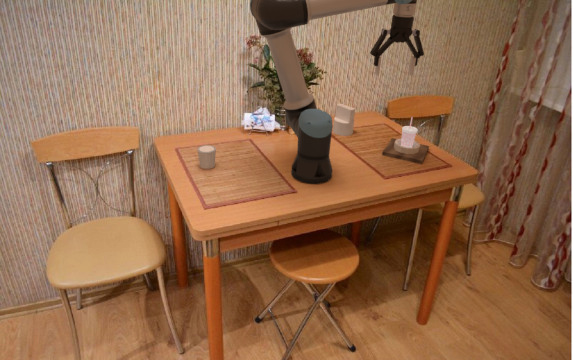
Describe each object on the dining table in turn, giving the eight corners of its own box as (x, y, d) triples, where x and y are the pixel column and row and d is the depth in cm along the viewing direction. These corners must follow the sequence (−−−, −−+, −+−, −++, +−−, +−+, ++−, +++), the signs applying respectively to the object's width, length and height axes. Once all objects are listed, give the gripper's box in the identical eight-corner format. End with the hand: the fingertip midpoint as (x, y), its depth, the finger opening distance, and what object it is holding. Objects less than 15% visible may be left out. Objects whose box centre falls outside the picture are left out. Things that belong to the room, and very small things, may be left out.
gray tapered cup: (209, 159, 172) (208, 143, 169) (220, 166, 168) (219, 149, 165) (194, 164, 168) (193, 148, 165) (205, 171, 164) (204, 154, 160)
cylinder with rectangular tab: (328, 131, 203) (331, 105, 197) (341, 126, 208) (344, 101, 202) (343, 137, 197) (346, 111, 191) (356, 132, 203) (360, 107, 197)
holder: (382, 155, 183) (382, 151, 182) (391, 141, 196) (391, 138, 195) (421, 164, 177) (422, 160, 177) (428, 149, 190) (429, 145, 189)
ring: (391, 150, 184) (392, 145, 182) (397, 141, 192) (398, 136, 190) (416, 156, 180) (417, 150, 179) (420, 147, 188) (421, 141, 187)
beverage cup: (413, 152, 183) (420, 120, 176) (398, 150, 184) (404, 118, 177) (413, 146, 188) (419, 115, 181) (398, 144, 189) (404, 113, 182)
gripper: (373, 16, 153) (365, 77, 164) (440, 17, 158) (428, 77, 168) (366, 12, 160) (359, 71, 170) (431, 14, 164) (420, 71, 174)
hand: (393, 74), depth 169 cm, fingers open, 13 cm apart
